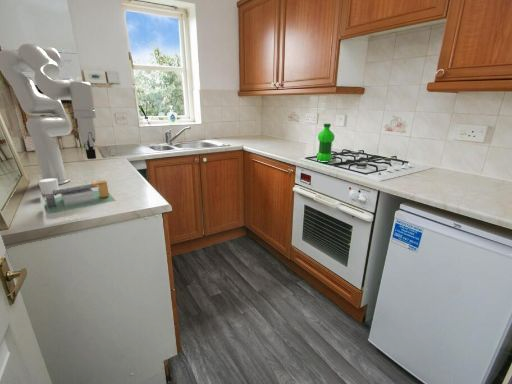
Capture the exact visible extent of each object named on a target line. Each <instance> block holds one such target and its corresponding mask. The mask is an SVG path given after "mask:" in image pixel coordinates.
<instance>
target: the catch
mask: <svg viewBox="0 0 512 384" xmlns="http://www.w3.org/2000/svg"><path fill="white" fill-rule="evenodd" d="M90 184H92V185H93V186H97V191H99V196H100V197H106V196H109V194H110V192H109V189H108V188H109V187H108V182H107V180H105V179H101V180H97V181H91V183H90ZM108 192H109V193H108Z"/></svg>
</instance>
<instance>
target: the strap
mask: <svg viewBox="0 0 512 384" xmlns="http://www.w3.org/2000/svg"><path fill="white" fill-rule="evenodd" d="M89 188H91V189H94V188H98V185H97V186H93V185H92V183H90V184H84V185H79V186H74V187H73V186H72V187H68V188H62V189H59V190H53V191H52V192H53V195H54V196H57V195H61V194H62V193H67V192H73V191H78V190H84V189H89Z"/></svg>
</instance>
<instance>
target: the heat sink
mask: <svg viewBox="0 0 512 384" xmlns="http://www.w3.org/2000/svg"><path fill="white" fill-rule="evenodd" d="M93 191H94V190H93V188H89V189H84V190H78V191H73V192H67V193H62V194H60V195H61V196H60V197H62V200H63V202H64V205H65V207H68V206H73V205H78V204H83V203H89V202H94V201H95V197H94V193H93ZM44 195H45V196H44V197H45V200H46V201H47V204H48V208H51V207H57V206H56V202H55V198H56V197H55V195H53V194H44Z"/></svg>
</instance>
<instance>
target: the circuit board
mask: <svg viewBox="0 0 512 384" xmlns="http://www.w3.org/2000/svg"><path fill="white" fill-rule="evenodd" d="M93 193H94V197H95V201H94V202H89V203H83V204H78V205H73V206H68V207H65V205H64V202H63V200H62V196H59V197H54V198H55V202H56V206H57V207H51V208H48V204H47V201H46V199H44V201H45V207H46V212H47V215H51V214H55V213H59V212H65V211H69V210H77V209H79V208H87V207H90V206H96V205H100V204H106V203H110V202H116V199H115V198H114V197H113V196H112V194H110V192H109V191H108V193H109V196H106V197H100V196H99V190H93Z"/></svg>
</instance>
